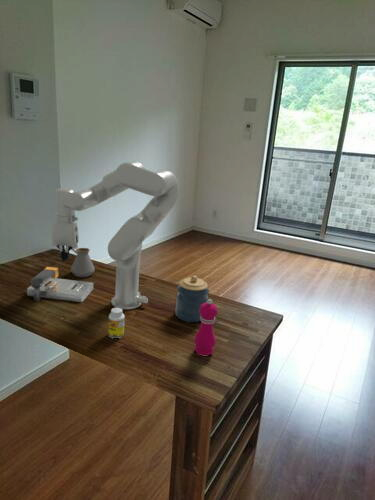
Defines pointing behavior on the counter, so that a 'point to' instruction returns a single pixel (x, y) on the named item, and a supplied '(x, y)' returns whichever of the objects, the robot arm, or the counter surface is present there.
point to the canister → (191, 298)
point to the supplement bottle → (116, 323)
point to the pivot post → (37, 294)
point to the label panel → (64, 289)
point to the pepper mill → (206, 329)
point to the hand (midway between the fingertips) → (65, 259)
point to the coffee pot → (82, 263)
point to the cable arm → (44, 276)
